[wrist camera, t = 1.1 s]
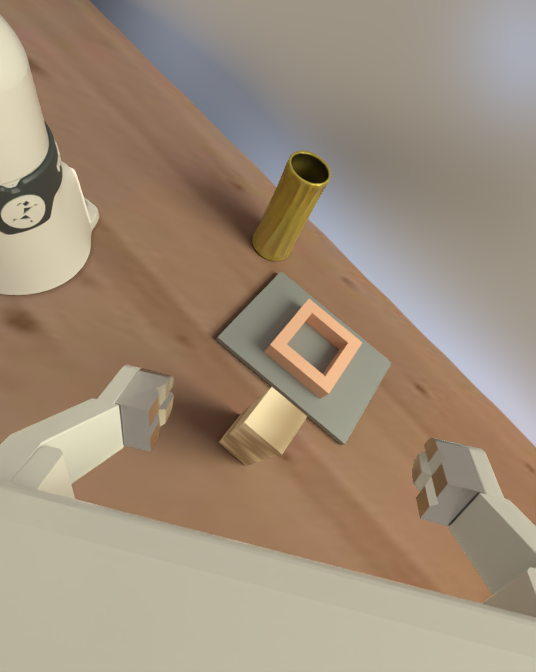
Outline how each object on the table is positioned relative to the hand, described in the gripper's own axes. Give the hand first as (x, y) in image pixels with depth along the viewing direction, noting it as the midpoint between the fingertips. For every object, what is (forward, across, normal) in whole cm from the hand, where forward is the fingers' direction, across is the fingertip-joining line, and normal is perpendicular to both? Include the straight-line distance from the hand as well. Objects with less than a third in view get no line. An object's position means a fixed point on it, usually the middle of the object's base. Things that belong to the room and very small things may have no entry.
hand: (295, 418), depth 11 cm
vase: (+43, +6, +12) cm, 45 cm away
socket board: (+30, -3, +20) cm, 37 cm away
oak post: (+18, +3, +25) cm, 31 cm away
